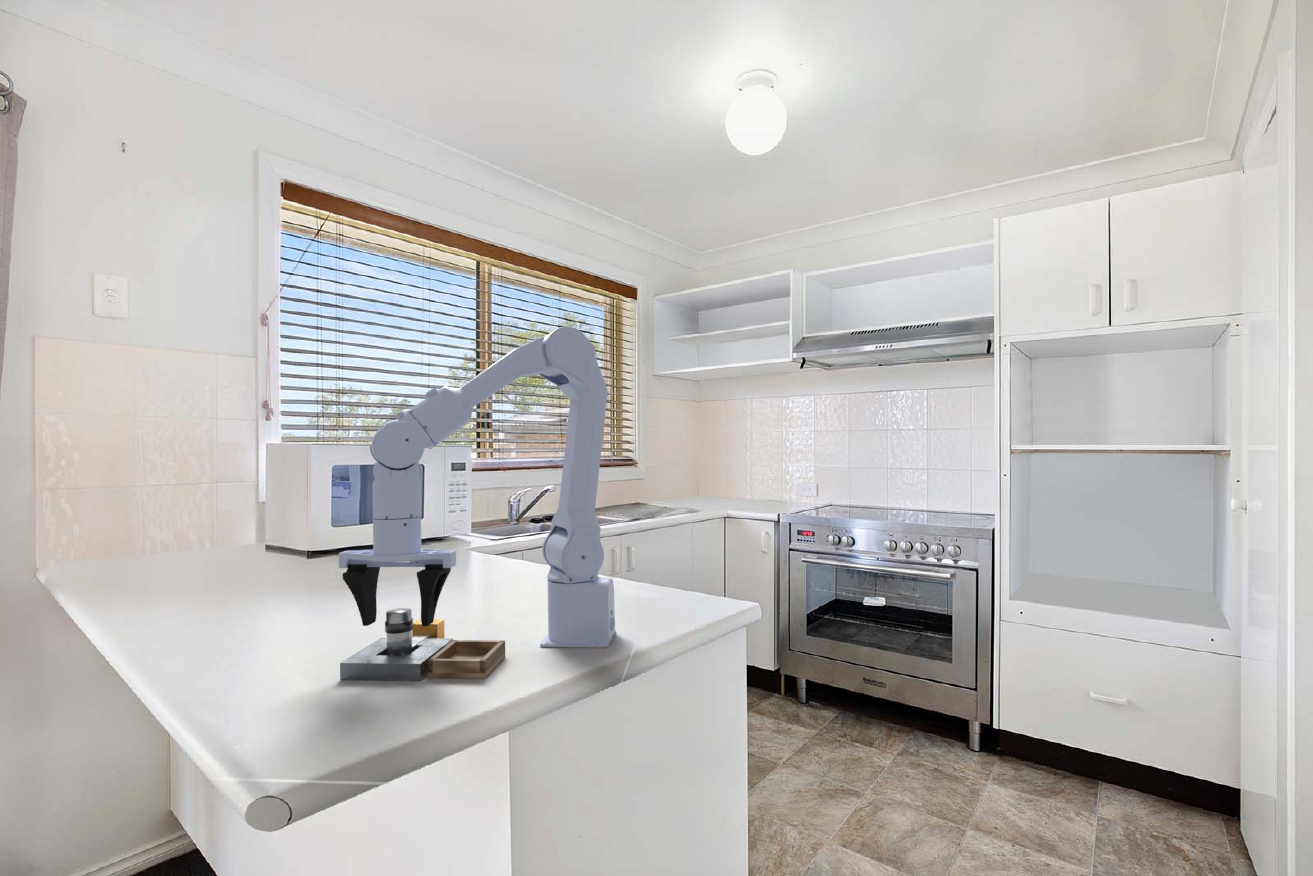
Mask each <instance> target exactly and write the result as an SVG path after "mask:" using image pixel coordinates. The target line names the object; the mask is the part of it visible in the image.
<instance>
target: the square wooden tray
mask: <svg viewBox="0 0 1313 876" xmlns="http://www.w3.org/2000/svg"><path fill="white" fill-rule="evenodd" d="M504 658H506V640H501V639H500V640H498V639H497V640H496V639H495V640H492V639H490V640H487V639H485V640H484V639H481V640H480V639H479V640H478V639H476V640H473V639H469V640H468V639H453V641H452V642H451V643H449V644H448V645H447V646H445V647H444V648H443V649H442V650H440V651H439V652H438V653H437V654H435V655H434V656H433V657H431V658H430V659H429V660H428V675H427V678H428V679H429V678H430V679H432V678H433V679H486V678H487V677H488V675H489V674H491V672H493V670H494V669H495V668H496V667H497V666H498V665H499V664H500V663H501V662H502V661H503V660H504Z"/></svg>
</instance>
